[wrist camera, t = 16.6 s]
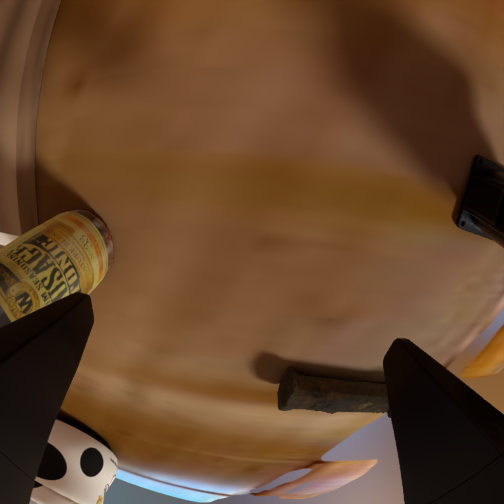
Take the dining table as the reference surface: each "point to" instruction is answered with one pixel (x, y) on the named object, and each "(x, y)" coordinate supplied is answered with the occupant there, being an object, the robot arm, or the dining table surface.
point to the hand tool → (330, 394)
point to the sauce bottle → (53, 263)
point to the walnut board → (21, 108)
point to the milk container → (74, 467)
